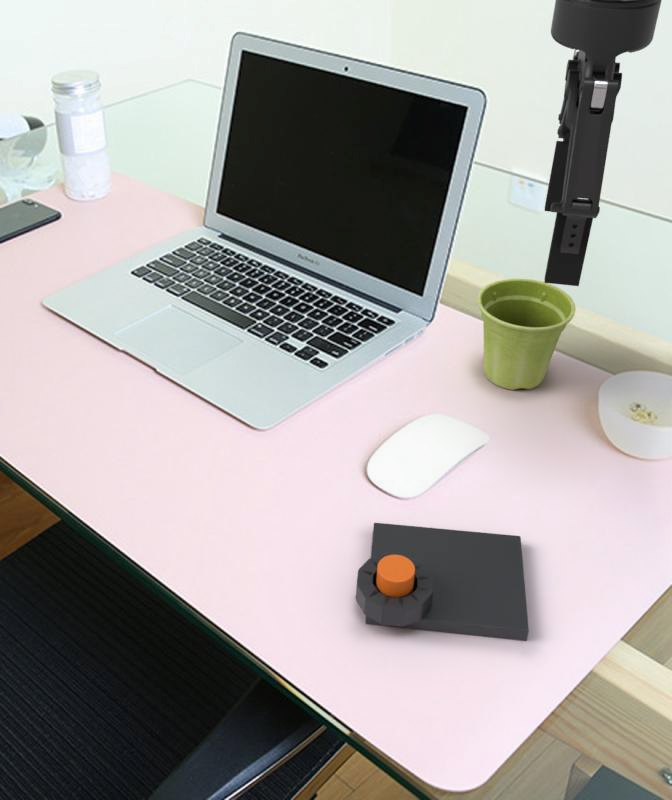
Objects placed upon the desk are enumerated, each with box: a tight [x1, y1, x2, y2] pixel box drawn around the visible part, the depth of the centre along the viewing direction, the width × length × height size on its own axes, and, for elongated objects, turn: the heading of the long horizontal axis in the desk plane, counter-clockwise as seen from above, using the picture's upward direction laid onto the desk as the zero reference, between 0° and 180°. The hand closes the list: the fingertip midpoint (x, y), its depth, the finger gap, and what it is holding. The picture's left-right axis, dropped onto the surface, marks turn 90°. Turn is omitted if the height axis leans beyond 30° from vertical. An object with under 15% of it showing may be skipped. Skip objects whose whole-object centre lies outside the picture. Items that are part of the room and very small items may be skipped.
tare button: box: [376, 555, 415, 598], centre depth 72 cm, size 3×3×2 cm
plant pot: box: [477, 278, 576, 391], centre depth 96 cm, size 9×9×9 cm
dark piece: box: [355, 522, 530, 642], centre depth 74 cm, size 13×11×3 cm
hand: (560, 244), depth 83 cm, fingers open, 13 cm apart
